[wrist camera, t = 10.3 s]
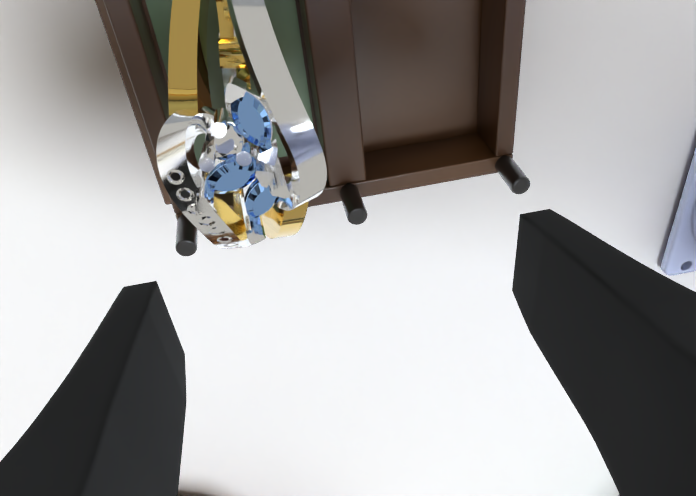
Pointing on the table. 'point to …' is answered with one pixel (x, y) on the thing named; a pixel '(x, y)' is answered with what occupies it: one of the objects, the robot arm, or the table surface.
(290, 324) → the table surface
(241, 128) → the ring
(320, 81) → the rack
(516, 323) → the table surface
